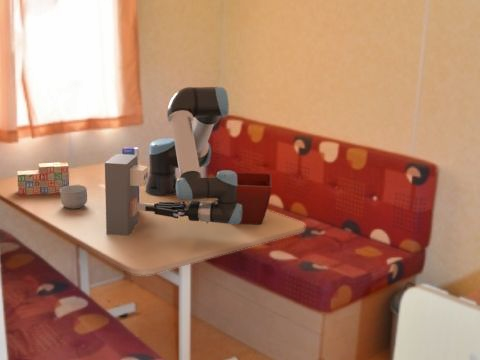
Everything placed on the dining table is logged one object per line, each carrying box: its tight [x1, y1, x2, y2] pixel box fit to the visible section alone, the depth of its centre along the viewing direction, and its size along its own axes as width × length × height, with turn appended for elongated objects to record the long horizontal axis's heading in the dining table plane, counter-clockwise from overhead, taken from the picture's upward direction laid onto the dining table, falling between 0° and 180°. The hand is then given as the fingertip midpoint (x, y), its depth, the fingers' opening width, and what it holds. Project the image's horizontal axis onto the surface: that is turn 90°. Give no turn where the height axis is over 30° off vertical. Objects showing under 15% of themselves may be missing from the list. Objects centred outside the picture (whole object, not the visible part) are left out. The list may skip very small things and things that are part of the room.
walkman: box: [121, 147, 140, 159], centre depth 318 cm, size 8×3×12 cm, turn 102°
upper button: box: [130, 165, 149, 187], centre depth 236 cm, size 8×6×6 cm
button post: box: [104, 153, 139, 237], centre depth 238 cm, size 8×14×27 cm, turn 173°
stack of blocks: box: [17, 162, 70, 196], centre depth 281 cm, size 21×6×12 cm, turn 109°
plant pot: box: [234, 171, 273, 225], centre depth 255 cm, size 19×19×17 cm
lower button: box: [130, 196, 139, 217], centre depth 239 cm, size 8×6×6 cm
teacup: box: [60, 183, 88, 210], centre depth 265 cm, size 14×11×8 cm
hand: (137, 206), depth 239 cm, fingers closed
